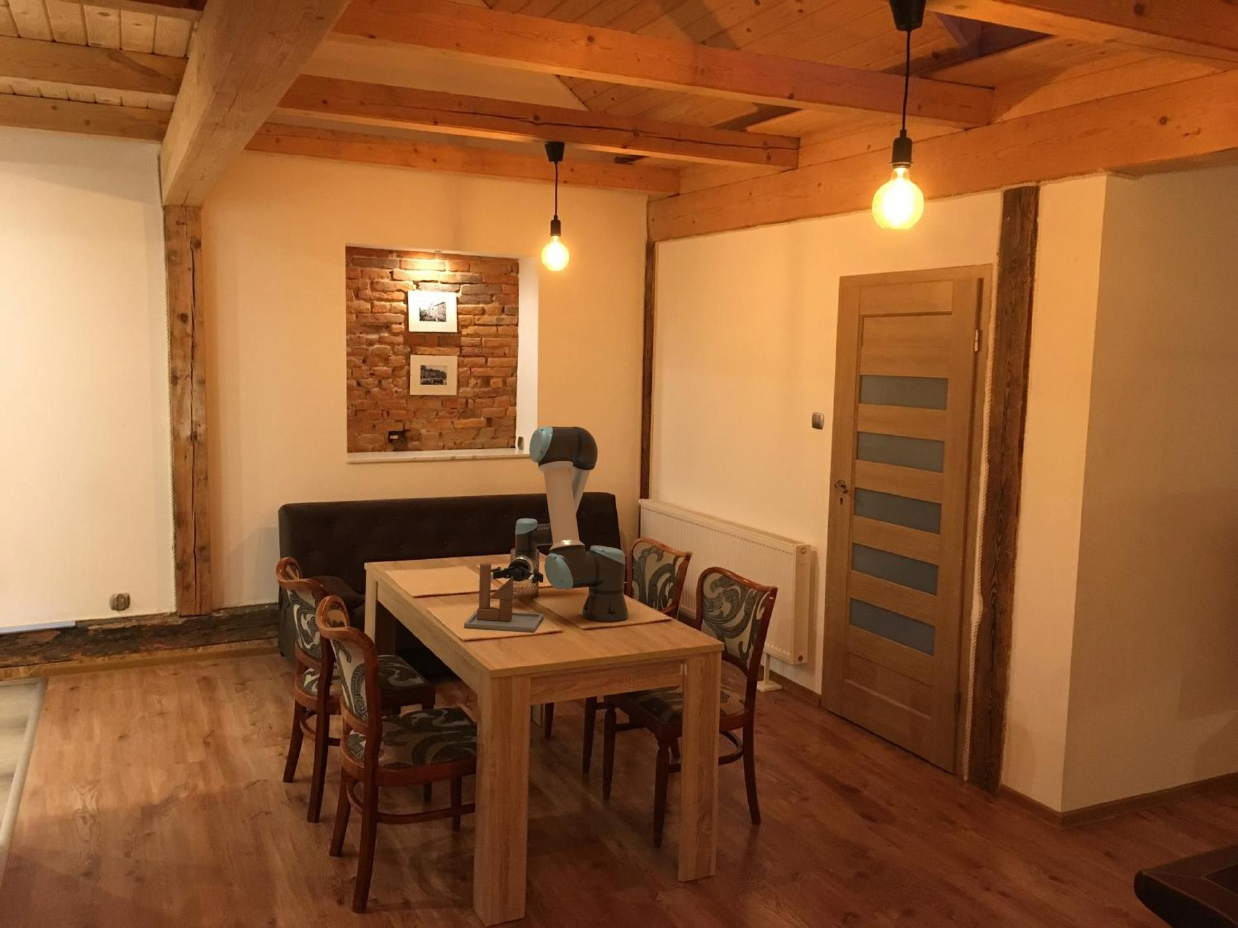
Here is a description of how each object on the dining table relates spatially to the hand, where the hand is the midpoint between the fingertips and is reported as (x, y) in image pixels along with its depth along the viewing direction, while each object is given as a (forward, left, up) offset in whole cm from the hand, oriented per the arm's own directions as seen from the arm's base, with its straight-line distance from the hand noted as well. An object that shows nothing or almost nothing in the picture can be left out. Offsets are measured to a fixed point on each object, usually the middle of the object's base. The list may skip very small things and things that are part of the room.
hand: (508, 581), depth 343 cm
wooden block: (+1, +6, -12) cm, 13 cm away
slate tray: (-2, +6, -12) cm, 14 cm away
